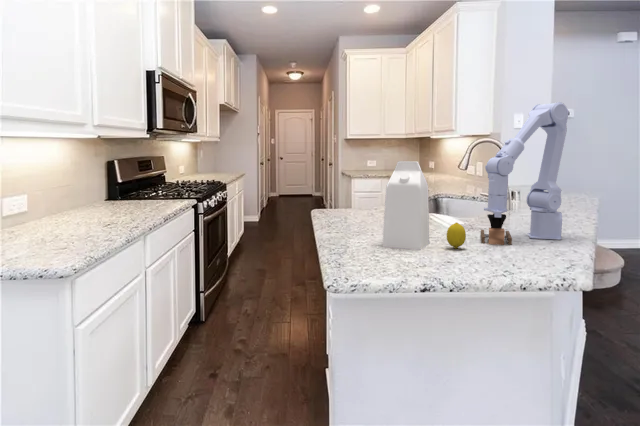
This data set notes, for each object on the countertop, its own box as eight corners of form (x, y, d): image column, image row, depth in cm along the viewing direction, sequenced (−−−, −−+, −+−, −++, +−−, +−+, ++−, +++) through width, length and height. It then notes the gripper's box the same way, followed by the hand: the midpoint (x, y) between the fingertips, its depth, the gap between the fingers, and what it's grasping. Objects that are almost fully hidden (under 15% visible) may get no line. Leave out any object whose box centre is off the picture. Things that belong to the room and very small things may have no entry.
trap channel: (508, 235, 165) (508, 230, 165) (511, 244, 150) (512, 238, 150) (480, 234, 168) (480, 229, 167) (481, 243, 153) (481, 236, 153)
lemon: (466, 251, 142) (467, 224, 141) (446, 250, 143) (447, 223, 142) (464, 247, 147) (465, 221, 146) (445, 246, 148) (446, 220, 147)
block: (503, 242, 154) (504, 228, 154) (504, 245, 150) (504, 230, 149) (488, 241, 156) (489, 227, 155) (488, 244, 151) (489, 230, 151)
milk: (429, 243, 154) (431, 161, 150) (420, 250, 144) (423, 162, 140) (392, 240, 159) (394, 160, 155) (382, 246, 149) (383, 161, 145)
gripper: (484, 192, 162) (482, 232, 164) (484, 196, 149) (483, 240, 150) (506, 193, 160) (504, 233, 162) (509, 197, 146) (507, 241, 148)
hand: (495, 236), depth 156 cm, fingers closed
